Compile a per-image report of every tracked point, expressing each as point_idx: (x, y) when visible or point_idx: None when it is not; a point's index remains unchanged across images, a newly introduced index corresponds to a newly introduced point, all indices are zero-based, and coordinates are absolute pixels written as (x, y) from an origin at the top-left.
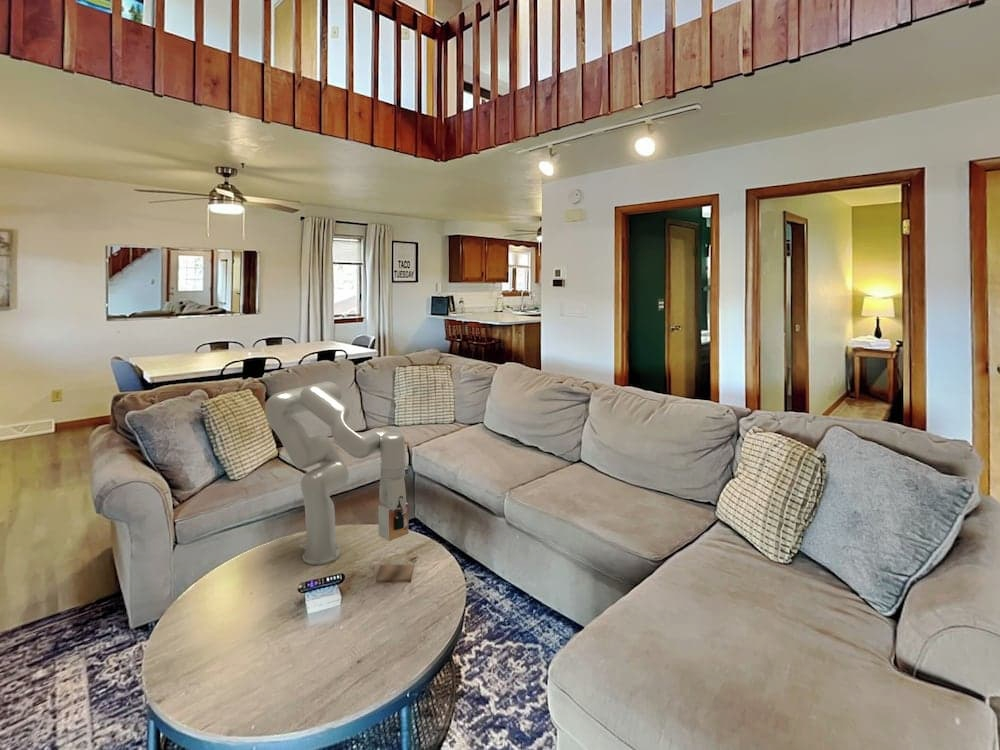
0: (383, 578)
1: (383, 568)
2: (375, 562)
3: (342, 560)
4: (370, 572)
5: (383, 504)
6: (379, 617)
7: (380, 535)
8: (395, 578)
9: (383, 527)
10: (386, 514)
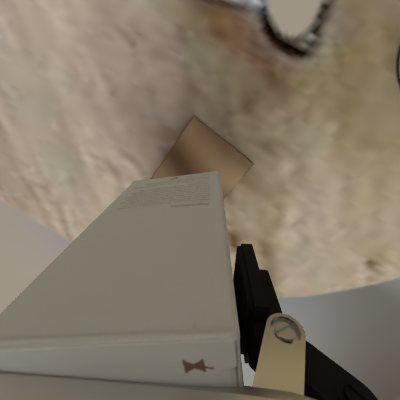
0: (187, 137)
1: (232, 162)
2: (287, 165)
3: (376, 92)
4: (251, 129)
5: (193, 397)
6: (37, 41)
7: (202, 174)
8: (168, 162)
9: (161, 198)
10: (64, 280)
